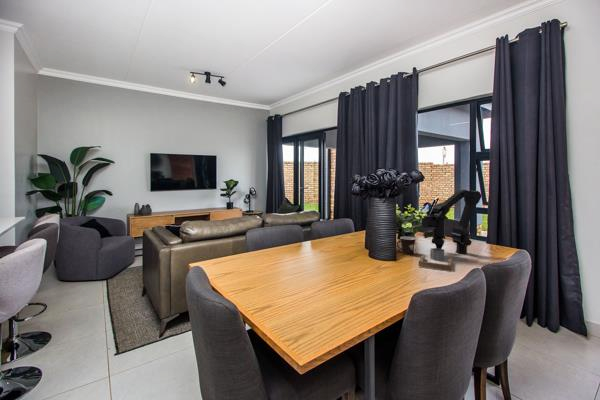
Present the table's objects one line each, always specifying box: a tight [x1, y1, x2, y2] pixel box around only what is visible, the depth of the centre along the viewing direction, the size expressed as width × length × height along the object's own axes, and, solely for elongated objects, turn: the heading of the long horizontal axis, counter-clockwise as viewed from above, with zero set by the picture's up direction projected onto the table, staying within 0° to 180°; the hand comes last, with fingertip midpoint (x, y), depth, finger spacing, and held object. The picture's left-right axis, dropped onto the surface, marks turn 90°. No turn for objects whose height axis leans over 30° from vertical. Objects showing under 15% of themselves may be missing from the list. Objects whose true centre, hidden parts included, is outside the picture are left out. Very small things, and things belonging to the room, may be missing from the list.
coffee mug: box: [396, 236, 417, 256], centre depth 174 cm, size 12×9×10 cm
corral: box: [418, 254, 453, 273], centre depth 152 cm, size 15×15×3 cm
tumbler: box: [429, 247, 445, 262], centre depth 161 cm, size 7×7×6 cm
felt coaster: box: [450, 256, 469, 263], centre depth 161 cm, size 8×8×1 cm
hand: (438, 252), depth 169 cm, fingers closed
